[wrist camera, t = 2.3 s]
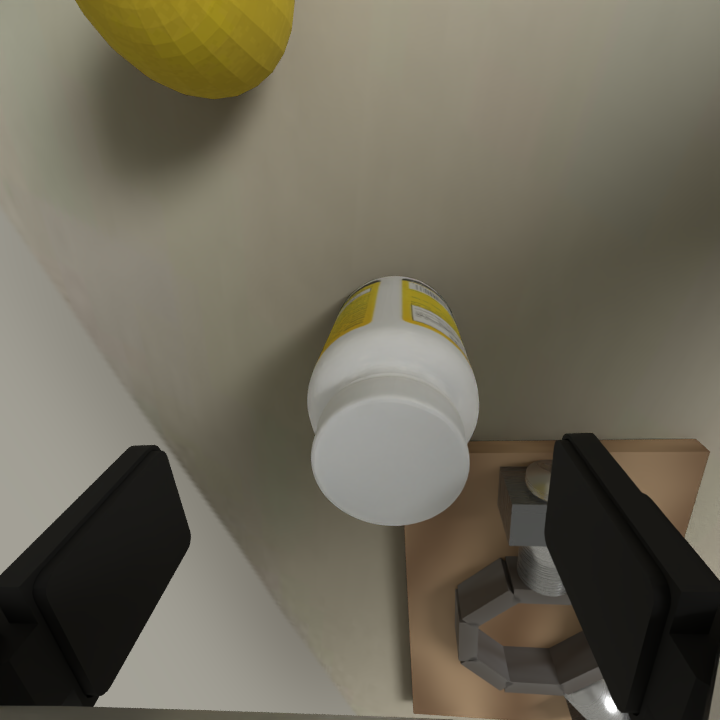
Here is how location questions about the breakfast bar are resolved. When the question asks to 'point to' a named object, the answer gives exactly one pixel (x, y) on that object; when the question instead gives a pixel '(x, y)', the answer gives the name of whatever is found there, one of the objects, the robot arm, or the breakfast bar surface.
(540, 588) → the shaft
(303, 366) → the breakfast bar surface
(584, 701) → the shaft
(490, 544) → the octagonal ring mount
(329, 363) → the supplement bottle
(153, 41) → the lemon
